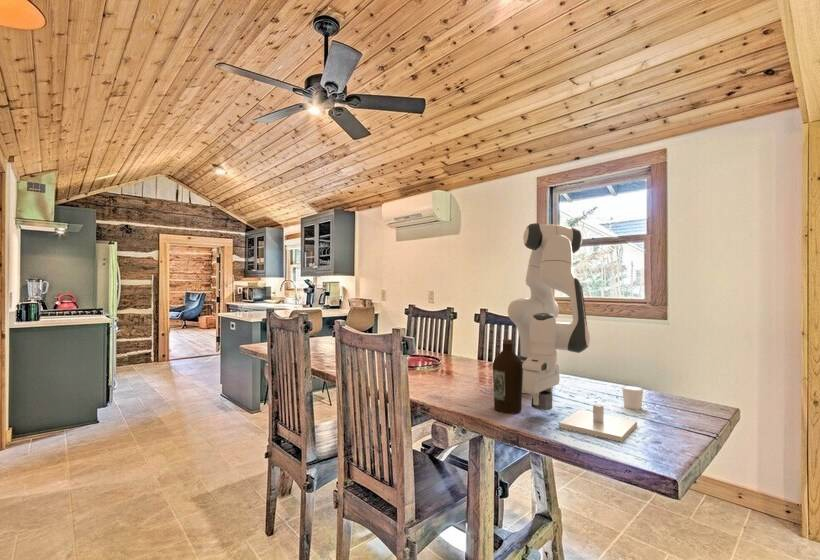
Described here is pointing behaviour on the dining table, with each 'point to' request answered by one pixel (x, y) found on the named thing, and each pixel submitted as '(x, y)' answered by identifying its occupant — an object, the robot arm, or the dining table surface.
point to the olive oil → (507, 380)
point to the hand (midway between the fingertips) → (542, 402)
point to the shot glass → (632, 397)
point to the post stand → (599, 424)
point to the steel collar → (543, 401)
